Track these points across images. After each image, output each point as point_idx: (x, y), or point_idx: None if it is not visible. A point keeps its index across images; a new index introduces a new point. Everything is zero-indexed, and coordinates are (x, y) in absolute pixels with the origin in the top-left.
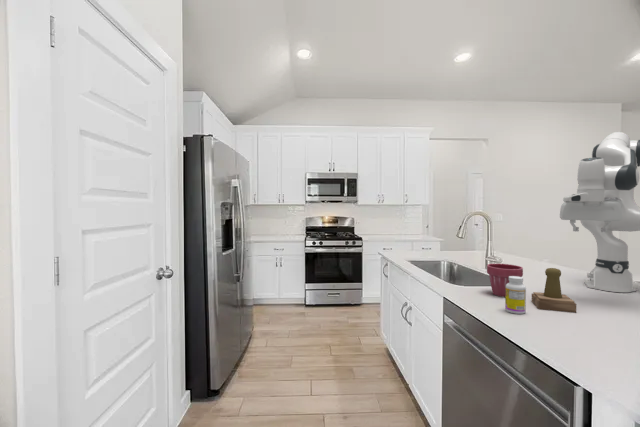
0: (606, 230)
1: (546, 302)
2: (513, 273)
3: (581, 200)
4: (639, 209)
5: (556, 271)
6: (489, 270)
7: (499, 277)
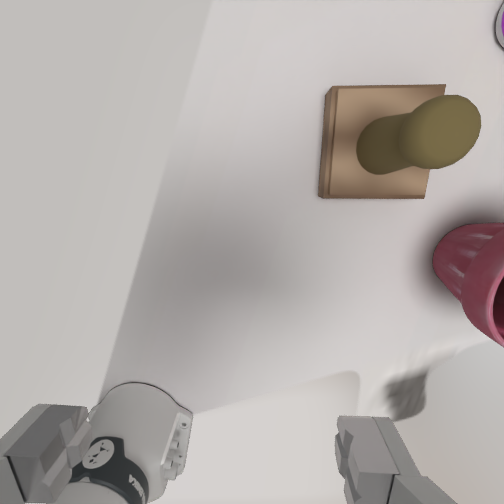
0: (28, 419)
1: (420, 85)
2: None
3: None
4: None
5: (445, 96)
6: None
7: None
